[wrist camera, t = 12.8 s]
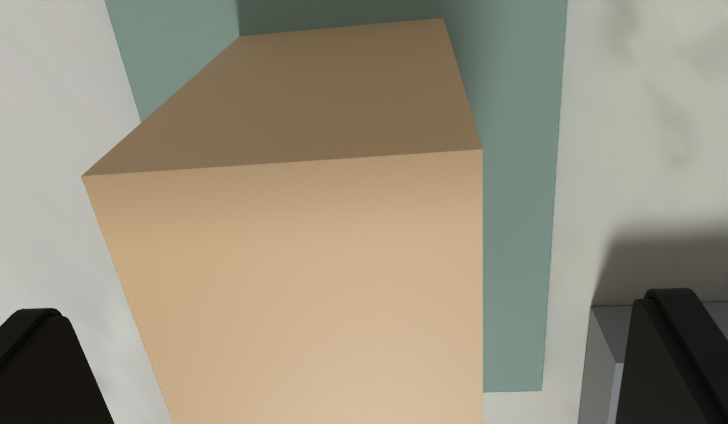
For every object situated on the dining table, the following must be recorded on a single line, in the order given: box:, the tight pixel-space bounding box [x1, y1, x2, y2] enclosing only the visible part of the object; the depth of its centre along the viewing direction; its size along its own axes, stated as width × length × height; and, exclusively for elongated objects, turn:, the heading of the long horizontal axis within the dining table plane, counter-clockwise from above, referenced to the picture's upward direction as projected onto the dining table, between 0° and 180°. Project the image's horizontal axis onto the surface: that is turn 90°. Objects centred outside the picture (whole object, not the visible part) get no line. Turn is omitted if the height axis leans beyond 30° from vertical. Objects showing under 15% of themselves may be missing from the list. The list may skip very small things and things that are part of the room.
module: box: [81, 18, 483, 424], centre depth 12 cm, size 5×8×8 cm, turn 6°
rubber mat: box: [105, 0, 567, 392], centre depth 16 cm, size 11×17×1 cm, turn 6°
